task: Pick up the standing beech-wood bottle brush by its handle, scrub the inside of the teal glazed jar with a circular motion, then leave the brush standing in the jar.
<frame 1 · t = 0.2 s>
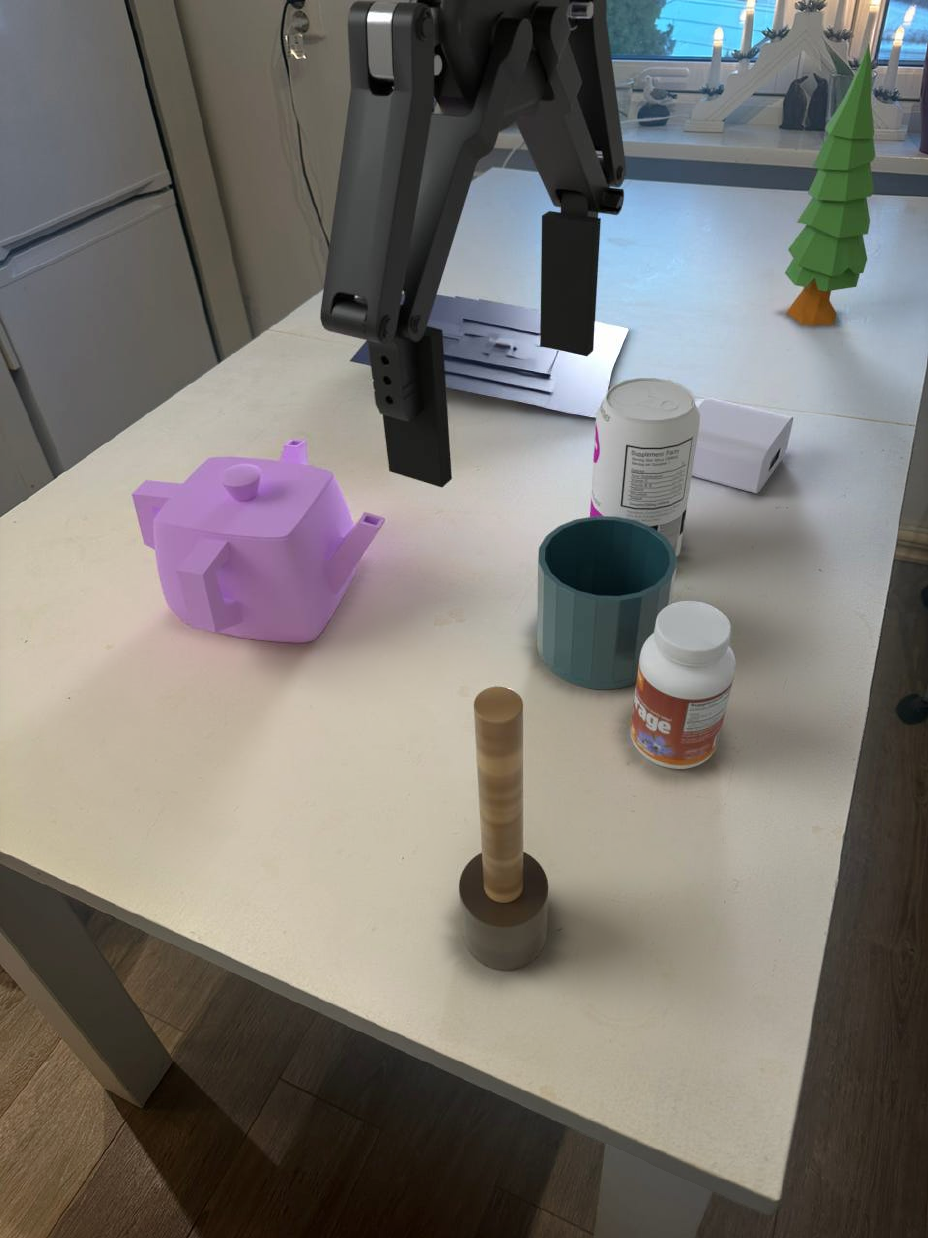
hand: (500, 406, 41), 29 cm above the table, tool pointing down, fingers open, 13 cm apart
supplement can: (633, 551, 79), on the table
jar: (599, 644, 70), on the table
dark blue flat slab: (495, 365, 108), on the table
pill bottle: (672, 740, 63), on the table
decorative tree: (815, 319, 114), on the table
teakettle: (277, 591, 77), on the table
brush: (504, 930, 52), on the table
charger: (699, 458, 90), on the table
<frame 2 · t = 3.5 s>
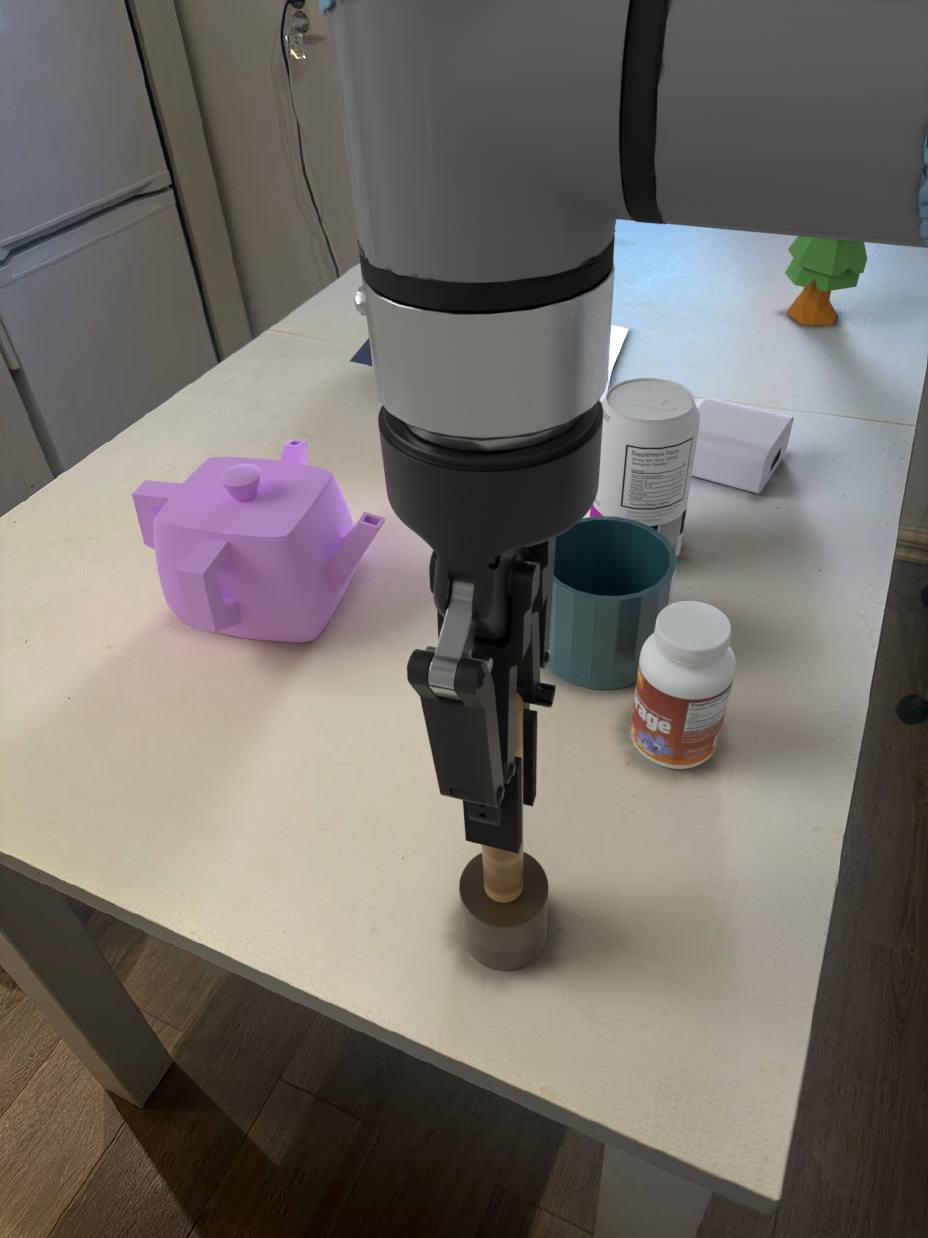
hand: (501, 816, 44), 11 cm above the table, tool pointing down, fingers closed on brush, 2 cm apart
brush: (504, 930, 52), on the table, touching gripper
everything else where it was.
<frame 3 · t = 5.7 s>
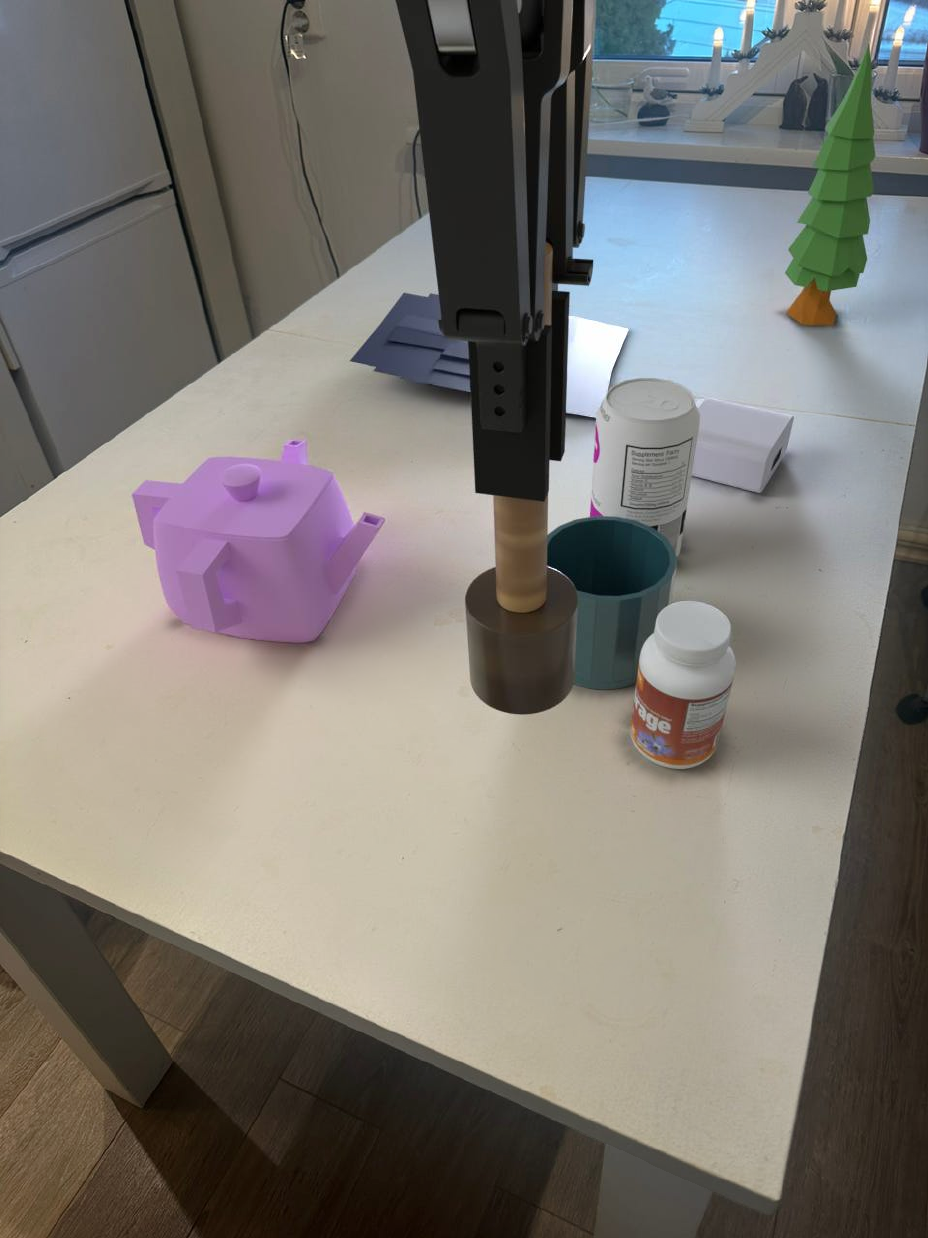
hand: (521, 470, 34), 30 cm above the table, tool pointing down, fingers closed on brush, 2 cm apart
brush: (521, 676, 42), point 19 cm above the table, touching gripper
everything else where it was.
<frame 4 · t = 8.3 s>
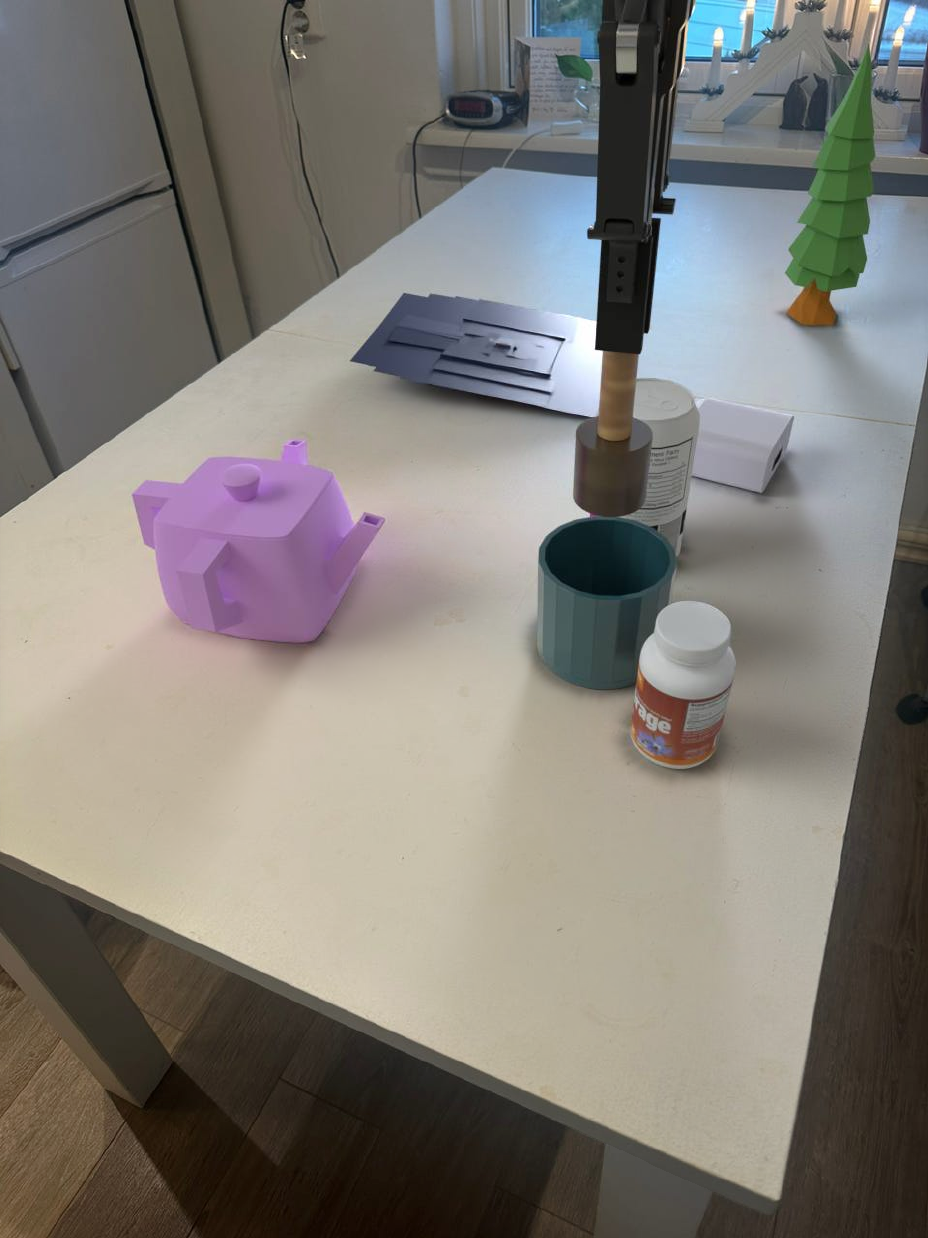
hand: (622, 338, 53), 26 cm above the table, tool pointing down, fingers closed on brush, 2 cm apart
brush: (609, 496, 61), point 14 cm above the table, touching gripper
everything else where it was.
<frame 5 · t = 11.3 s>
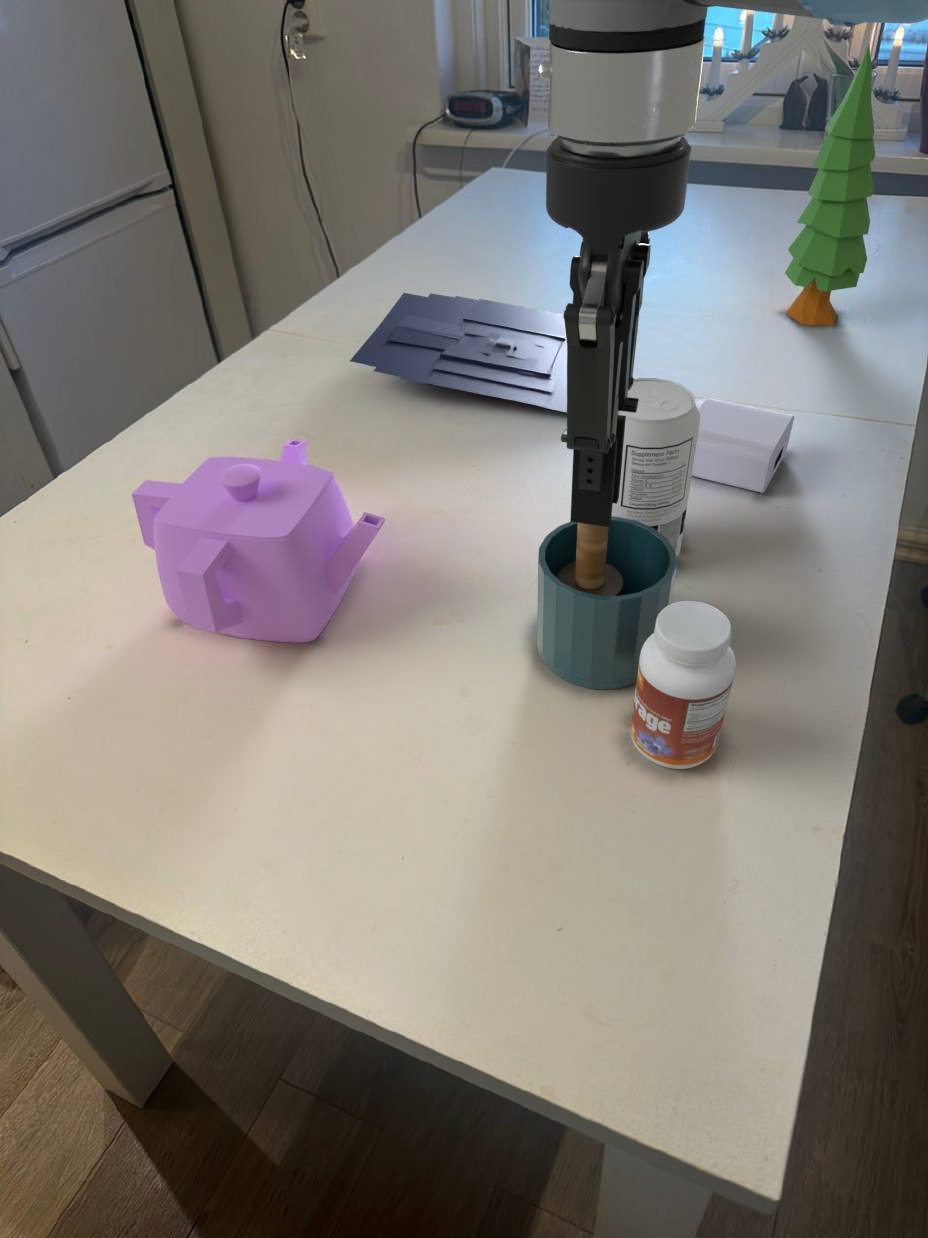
hand: (595, 508, 61), 13 cm above the table, tool pointing down, fingers closed on brush, 2 cm apart
brush: (586, 629, 69), point 2 cm above the table, touching gripper
everything else where it was.
when the fingers open (12 cm above the table, at t = 13.4 s): brush stays where it is, resting on jar.
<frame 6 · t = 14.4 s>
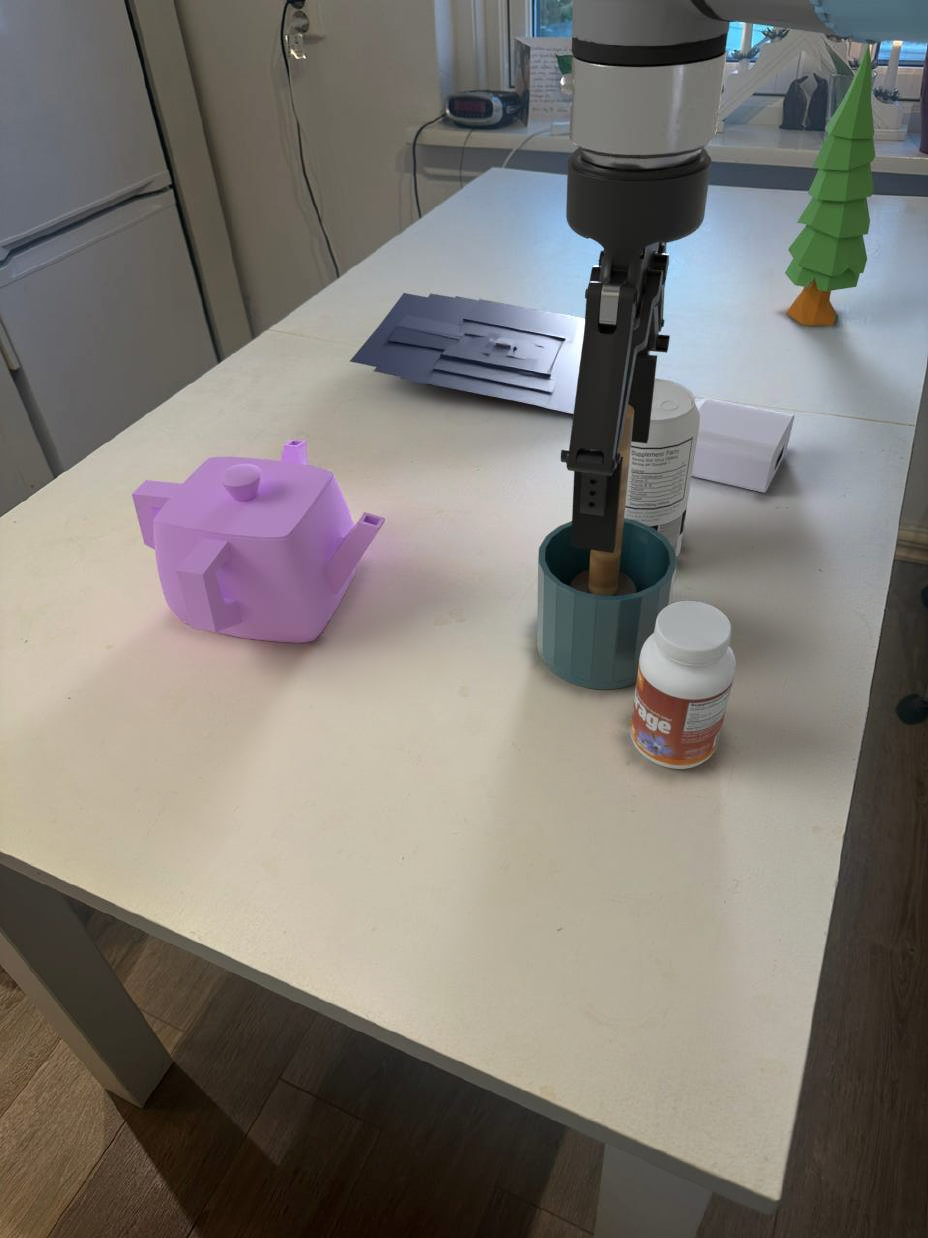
hand: (612, 488, 60), 15 cm above the table, tool pointing down, fingers open, 13 cm apart
brush: (599, 636, 70), point 1 cm above the table, touching jar
everything else where it was.
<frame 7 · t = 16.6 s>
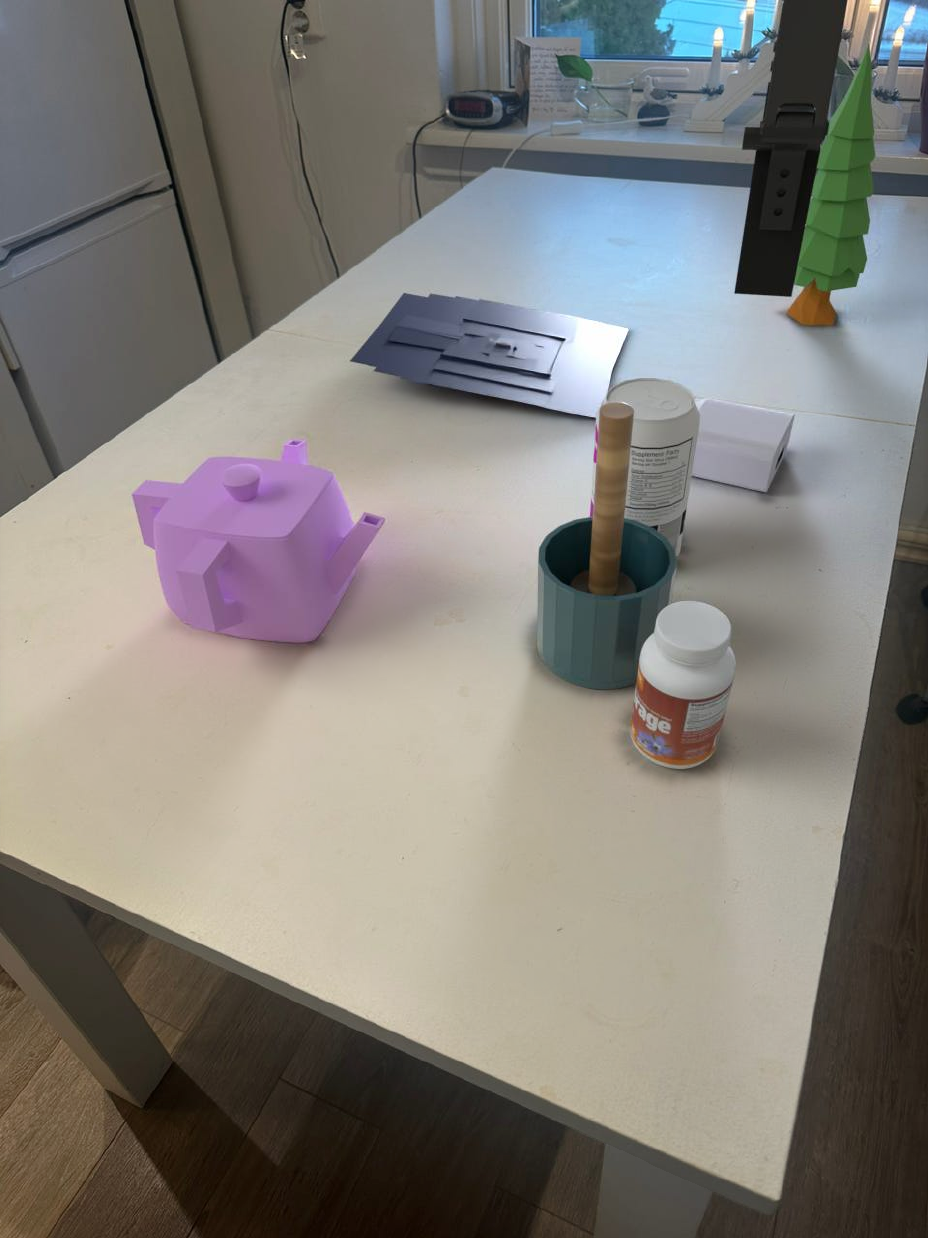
hand: (767, 246, 48), 31 cm above the table, tool pointing down, fingers open, 13 cm apart
nothing on the table moved.
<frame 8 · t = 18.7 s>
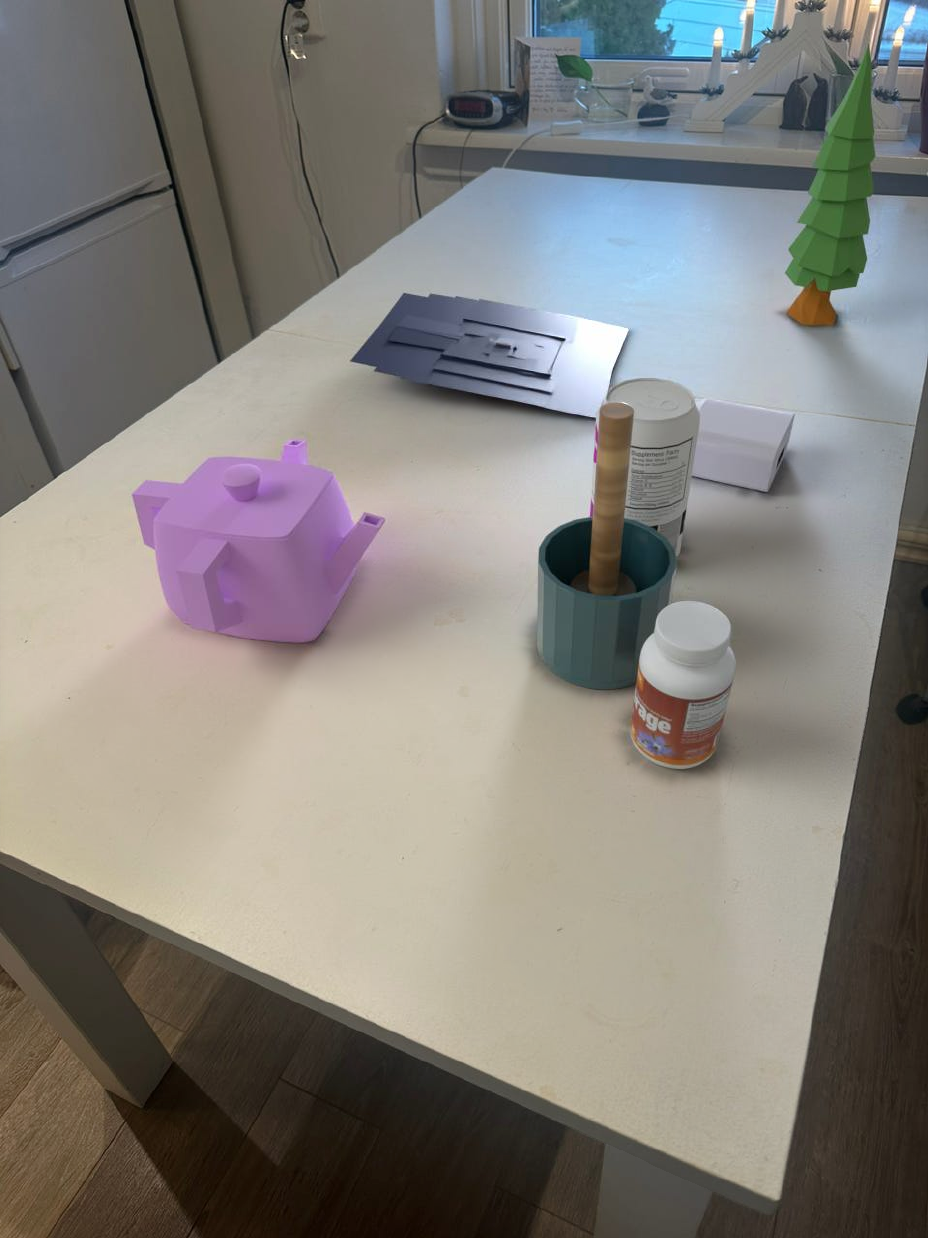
nothing on the table moved.
at the end: brush 0.1 cm off-centre in the jar, point 0.8 cm above the jar's base; the gripper is holding nothing; brush tilted 0° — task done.
